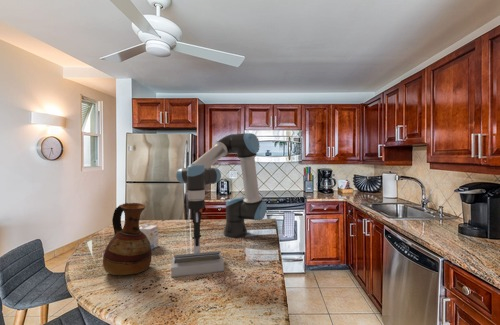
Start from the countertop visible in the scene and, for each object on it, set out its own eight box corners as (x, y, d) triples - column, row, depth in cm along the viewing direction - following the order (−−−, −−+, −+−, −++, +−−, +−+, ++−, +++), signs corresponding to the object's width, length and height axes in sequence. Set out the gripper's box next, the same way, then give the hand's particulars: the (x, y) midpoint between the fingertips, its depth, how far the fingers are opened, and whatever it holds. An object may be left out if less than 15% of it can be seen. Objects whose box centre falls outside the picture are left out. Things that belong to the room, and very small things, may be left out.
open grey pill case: (220, 259, 131) (220, 251, 131) (224, 271, 117) (223, 262, 117) (173, 264, 126) (172, 256, 126) (171, 277, 112) (171, 267, 112)
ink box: (150, 250, 146) (149, 226, 145) (136, 249, 147) (135, 225, 147) (158, 245, 154) (158, 222, 154) (145, 244, 156) (144, 221, 155)
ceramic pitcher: (129, 284, 107) (127, 208, 106) (91, 277, 114) (89, 206, 113) (161, 265, 125) (160, 201, 125) (127, 260, 132) (126, 199, 132)
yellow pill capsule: (214, 257, 123) (214, 263, 121) (213, 260, 125) (214, 266, 123) (180, 260, 120) (180, 266, 118) (180, 264, 122) (180, 270, 120)
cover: (218, 254, 127) (218, 252, 127) (220, 252, 120) (220, 250, 120) (174, 258, 122) (174, 256, 123) (173, 257, 115) (173, 255, 116)
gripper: (187, 197, 125) (188, 248, 126) (187, 202, 113) (188, 258, 113) (203, 197, 127) (204, 246, 127) (205, 201, 114) (206, 256, 115)
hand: (197, 252), depth 120 cm, fingers closed
